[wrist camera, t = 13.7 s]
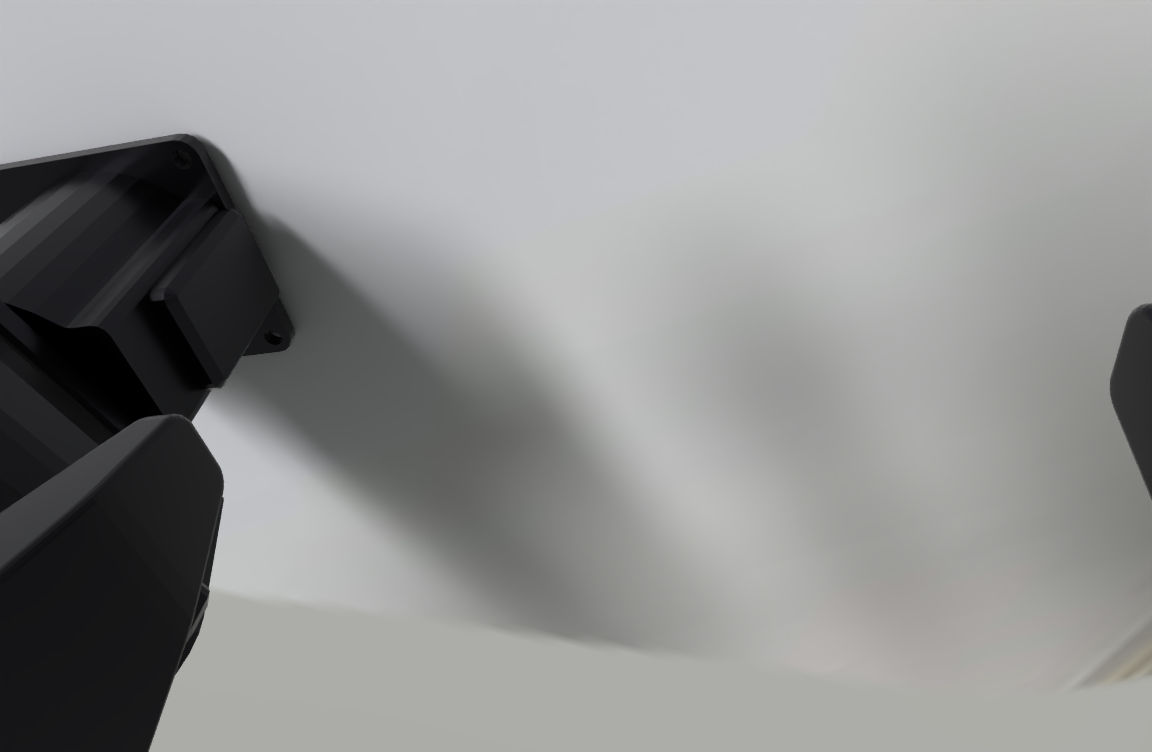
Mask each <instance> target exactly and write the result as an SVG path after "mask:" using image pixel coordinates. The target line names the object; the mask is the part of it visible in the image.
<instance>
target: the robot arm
mask: <svg viewBox="0 0 1152 752" xmlns="http://www.w3.org/2000/svg"><path fill="white" fill-rule="evenodd" d="M178 150H183V151H184V152H186V153H188V155H189V156H190V157H191V160H192V162H187V161H185V160H184V159H182V158H181V156H180V155H179V153H178ZM278 295H279V289H278V287H277V285H276V283H275V281H274V279H273V277H272V275H271V272H270V270H269V268H268V266H267V264H266V262H265V260H264V258H263V256H262V254H261V252H260V250H259V248H258V246H257V244H256V242H255V240H254V238H253V236H252V233H251V231H250V229H249V227H248V225H247V223H246V221H245V219H244V217H243V216H242V215H241V214H240V213H239V212H238V211H237V210H236V209H235V207H234V205H233V203H232V201H231V199H230V197H229V195H228V192H227V190H226V188H225V186H224V184H223V182H222V180H221V178H220V176H219V174H218V172H217V170H216V168H215V166H214V164H213V162H212V160H211V158H210V156H209V154H208V152H207V150H206V148H205V147H204V145H203V144H202V143H201V142H200V141H199V140H197V139H196V138H195V137H193V136H190V135H188V134H175V135H169V136H163V137H157V138H152V139H146V140H140V141H134V142H128V143H123V144H117V145H111V146H105V147H100V148H94V149H88V150H82V151H77V152H71V153H65V154H59V155H53V156H48V157H42V158H36V159H30V160H25V161H19V162H13V163H7V164H1V165H0V752H149V749H150V746H151V743H152V740H153V737H154V734H155V731H156V729H157V726H158V723H159V720H160V717H161V714H162V711H163V708H164V705H165V702H166V699H167V697H168V693H169V691H170V688H171V685H172V682H173V679H174V676H175V675H176V673H177V672H178V670H179V669H180V667H181V666H182V664H183V662H184V661H185V659H186V658H187V656H188V655H189V653H190V651H191V649H192V647H193V645H194V643H195V641H196V638H197V636H198V634H199V631H200V628H201V625H202V621H203V618H204V612H205V610H206V608H207V605H208V599H209V592H210V591H209V583H210V577H211V572H212V566H213V560H214V554H215V548H216V542H217V536H218V531H219V525H220V519H221V513H222V507H223V501H224V498H223V497H222V495H223V490H224V480H223V474H222V471H221V468H220V466H219V465H218V463H217V461H216V460H215V458H214V457H213V455H212V454H211V452H210V451H209V449H208V447H207V446H206V444H205V443H204V441H203V440H202V438H201V437H200V435H199V433H198V432H197V430H196V429H195V427H194V426H193V424H192V423H191V422H192V421H193V419H194V417H195V416H196V414H197V413H198V411H199V409H200V408H201V406H202V405H203V403H204V401H205V400H206V398H207V397H208V395H209V393H210V392H211V390H212V389H219V388H221V387H223V386H224V384H225V383H226V381H227V379H228V378H229V376H230V375H231V373H232V371H233V370H234V368H235V366H236V365H237V363H238V361H239V360H240V358H241V357H242V356H248V355H256V354H264V353H272V352H280V351H283V350H286V349H287V348H288V347H289V346H290V344H291V342H292V340H293V339H294V336H295V330H294V327H293V325H292V323H291V321H290V319H289V317H288V315H287V313H286V311H285V309H284V307H283V305H282V303H281V301H280V298H279V296H278ZM270 331H275V332H277V333H279V334H280V335H281V337H279V336H275V335H273V334H272V333H271V332H270ZM1110 395H1111V400H1112V404H1113V407H1114V409H1115V412H1116V414H1117V417H1118V419H1119V421H1120V424H1121V426H1122V429H1123V431H1124V434H1125V436H1126V439H1127V441H1128V443H1129V446H1130V448H1131V451H1132V453H1133V456H1134V458H1135V460H1136V463H1137V465H1138V468H1139V470H1140V473H1141V475H1142V477H1143V480H1144V482H1145V485H1146V487H1147V490H1148V492H1149V495H1150V497H1151V499H1152V303H1150V304H1143V305H1141V306H1139V307H1137V308H1136V309H1134V310H1133V311H1132V313H1131V314H1130V315H1129V318H1128V320H1127V323H1126V326H1125V330H1124V333H1123V337H1122V340H1121V344H1120V347H1119V350H1118V354H1117V357H1116V361H1115V364H1114V368H1113V371H1112V375H1111V380H1110Z"/></svg>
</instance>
